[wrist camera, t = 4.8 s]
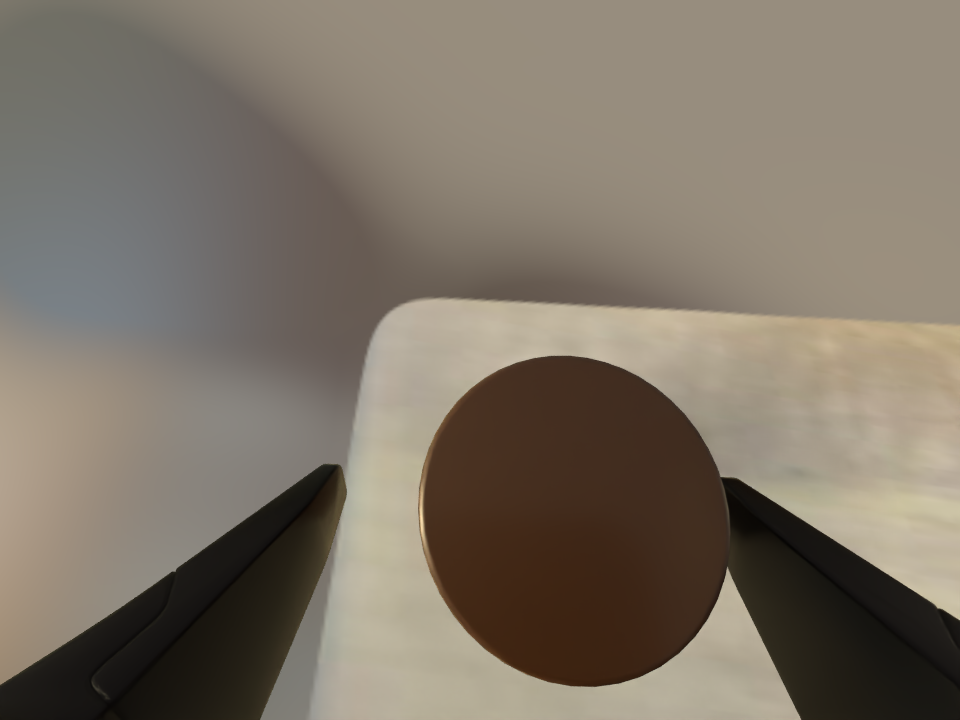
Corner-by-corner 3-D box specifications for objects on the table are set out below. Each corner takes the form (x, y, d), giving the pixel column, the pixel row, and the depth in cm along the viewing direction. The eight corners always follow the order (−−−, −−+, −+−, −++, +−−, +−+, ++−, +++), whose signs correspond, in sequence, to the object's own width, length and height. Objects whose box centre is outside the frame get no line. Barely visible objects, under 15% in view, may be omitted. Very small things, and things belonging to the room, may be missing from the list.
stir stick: (508, 540, 16) (573, 789, 3) (465, 488, 17) (356, 482, 3) (554, 494, 16) (803, 517, 3) (511, 445, 17) (569, 302, 4)
